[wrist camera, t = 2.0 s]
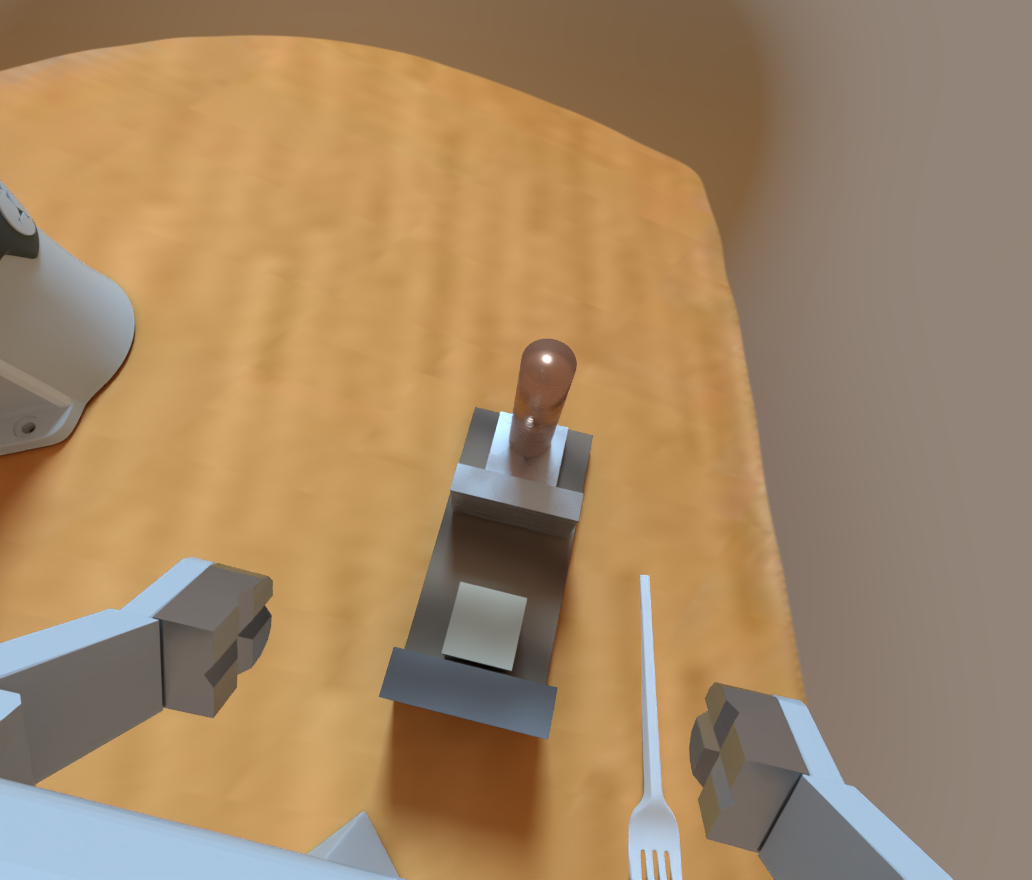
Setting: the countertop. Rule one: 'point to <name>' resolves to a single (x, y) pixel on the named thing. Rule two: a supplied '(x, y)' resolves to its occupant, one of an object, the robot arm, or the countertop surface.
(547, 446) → the press handle
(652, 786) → the fork
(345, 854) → the milk carton
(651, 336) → the countertop surface
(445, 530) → the base
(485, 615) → the block
